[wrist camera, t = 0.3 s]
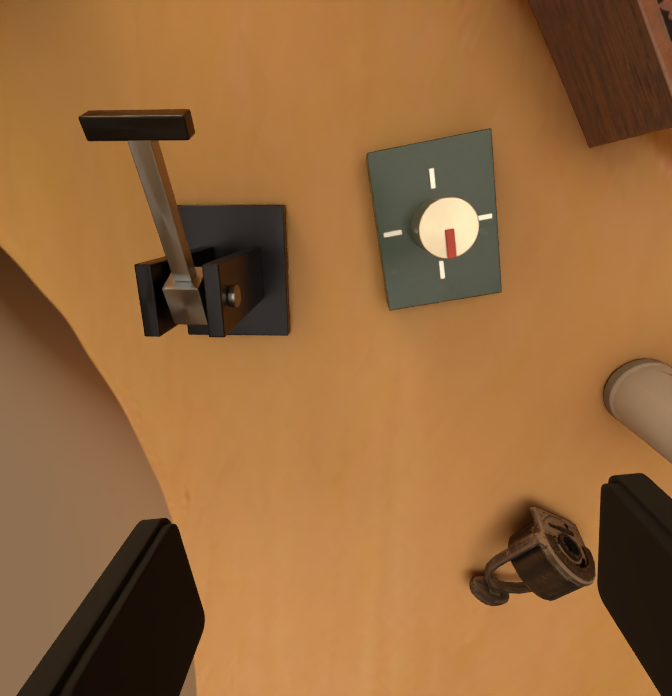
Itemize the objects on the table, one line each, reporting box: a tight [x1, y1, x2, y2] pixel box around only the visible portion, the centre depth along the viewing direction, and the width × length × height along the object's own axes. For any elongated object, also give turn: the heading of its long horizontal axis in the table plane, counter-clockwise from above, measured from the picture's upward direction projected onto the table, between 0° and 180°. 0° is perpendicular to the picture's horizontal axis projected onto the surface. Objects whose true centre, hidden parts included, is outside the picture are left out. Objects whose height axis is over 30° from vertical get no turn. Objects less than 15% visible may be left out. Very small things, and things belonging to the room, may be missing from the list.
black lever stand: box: [135, 205, 290, 337], centre depth 32 cm, size 11×9×13 cm
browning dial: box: [411, 197, 479, 259], centre depth 31 cm, size 4×4×5 cm
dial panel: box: [366, 128, 502, 310], centre depth 34 cm, size 12×9×3 cm
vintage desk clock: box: [470, 507, 595, 606], centre depth 42 cm, size 7×13×10 cm
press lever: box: [79, 109, 208, 325], centre depth 24 cm, size 12×5×2 cm, turn 1°
